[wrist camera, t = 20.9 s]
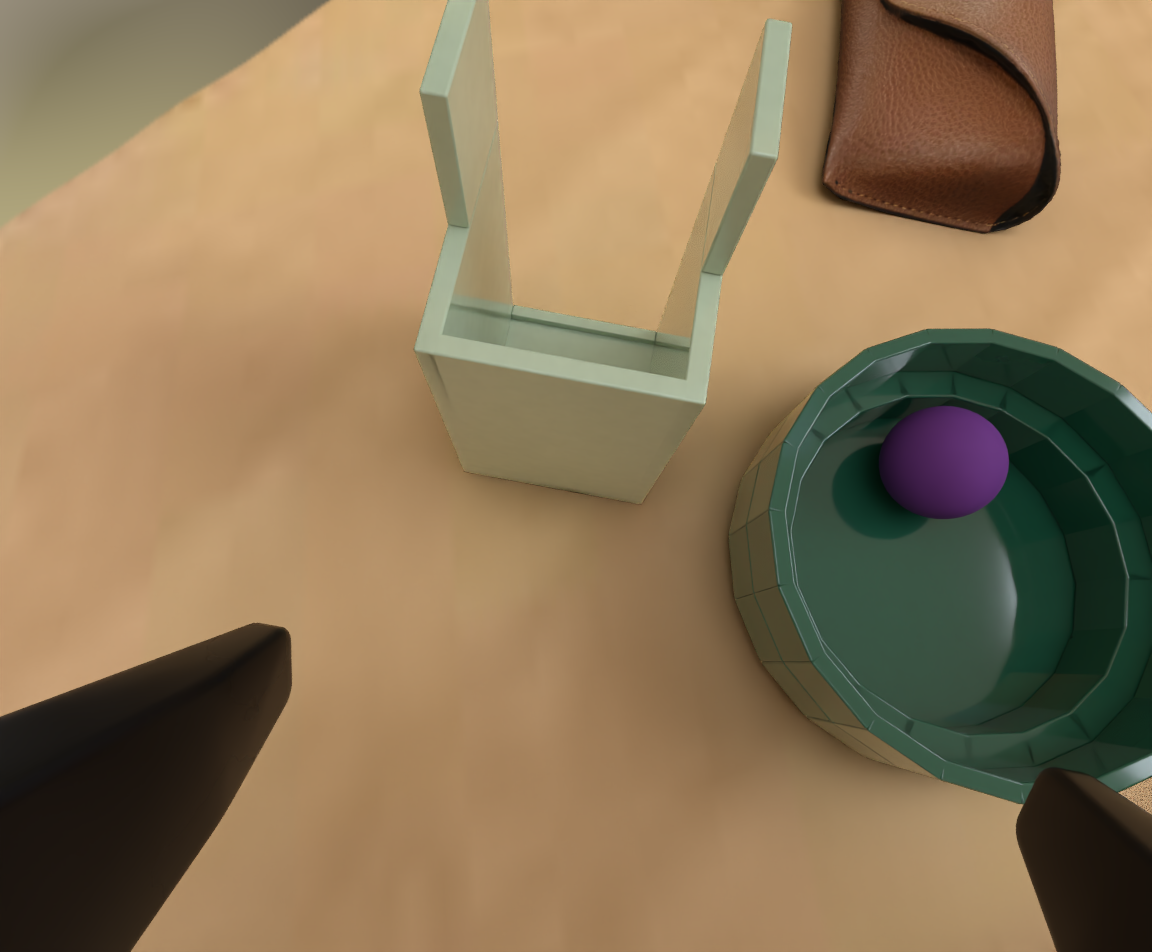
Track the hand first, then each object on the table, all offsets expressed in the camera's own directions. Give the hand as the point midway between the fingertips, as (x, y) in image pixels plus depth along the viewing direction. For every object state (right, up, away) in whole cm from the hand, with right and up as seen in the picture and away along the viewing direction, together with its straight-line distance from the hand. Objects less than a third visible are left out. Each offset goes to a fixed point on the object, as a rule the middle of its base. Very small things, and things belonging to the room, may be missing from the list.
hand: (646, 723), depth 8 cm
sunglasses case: (+14, +22, +21) cm, 33 cm away
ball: (+11, +3, +13) cm, 17 cm away
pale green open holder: (-1, +5, +15) cm, 16 cm away
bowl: (+11, 0, +14) cm, 18 cm away
